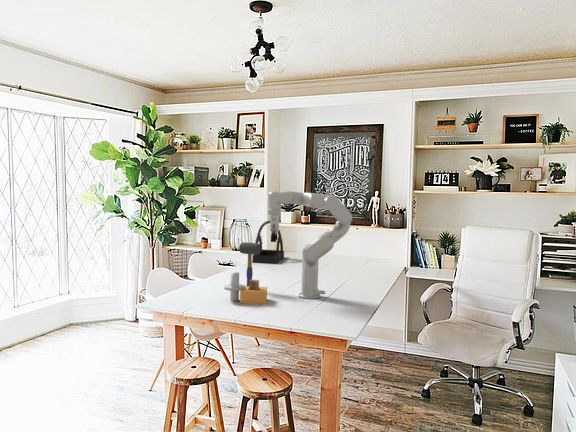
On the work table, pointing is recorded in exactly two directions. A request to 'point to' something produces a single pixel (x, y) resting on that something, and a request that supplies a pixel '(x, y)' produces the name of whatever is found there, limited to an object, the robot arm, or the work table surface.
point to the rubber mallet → (249, 256)
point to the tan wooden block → (254, 285)
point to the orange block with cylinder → (245, 292)
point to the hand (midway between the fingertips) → (274, 240)
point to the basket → (268, 255)
